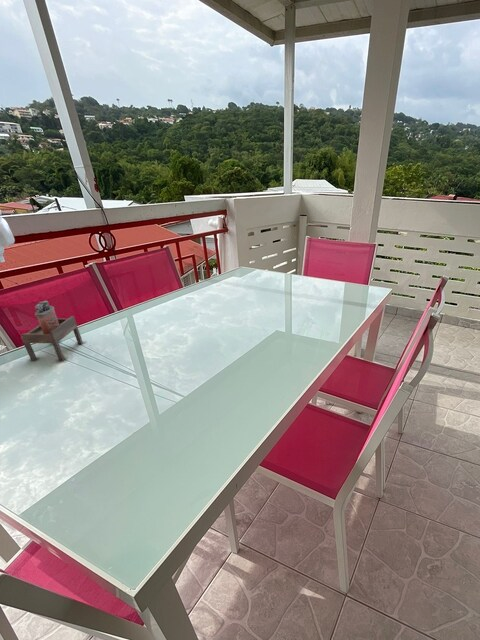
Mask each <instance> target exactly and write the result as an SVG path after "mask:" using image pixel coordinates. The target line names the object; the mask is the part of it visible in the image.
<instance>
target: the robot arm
mask: <svg viewBox="0 0 480 640" xmlns="http://www.w3.org/2000/svg"><path fill="white" fill-rule="evenodd" d="M2 214H3V212H2V210H1V209H0V263H6V259H5V257H4V252H5V247H10V246H13V245H15V242H16V239H15V236H14V234H13V232H12V230H11V227H10V225H9V223H8V222H7V220H6V219H5V218H4V217H2Z"/></svg>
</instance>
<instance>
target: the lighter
mask: <svg viewBox="0 0 480 640" xmlns="http://www.w3.org/2000/svg"><path fill="white" fill-rule="evenodd" d="M34 309H35V311H36V312H35V313H34V316H35V317H36V318H37V321H38V323H39V325H40V326H41V328H42V331H43V334H50V333H49V332H50V331H51V330H53V329H54V328H55V327H57V326H58V325H59V322H58V319H57V318H58V317H57V314H56V311H55V307H54V306H53V305H50V304H49V301H48V300H43V301H38V304H36V305H35V306H34Z"/></svg>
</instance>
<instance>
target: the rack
mask: <svg viewBox="0 0 480 640" xmlns="http://www.w3.org/2000/svg"><path fill="white" fill-rule="evenodd" d="M57 319H58V322H59V325H58V326H57V327H55V328H54V329H53V330H51V331H50V332H49V333H50V334H43V331H42V328H41V326H40V324H39V325H37V326H35V327H34V328H33V329H31V330H30V331H28V332H26V333H22V334H21V336H20V339H21V341H22V344H23V346H24V348H25V350H26V352H27V354H28V357H29V359H30V360H31V361H36V360H37V359H38V358H37V356H36V353H35V351H34V348H33V347H32V344H52V346H53V349H54V351H55V353H56V356H57V359H58V361H59V362H63V361H64V360H65V356H64V353H63V351H62V348H61V346H60V343H59V342H60V341H61V340H63V339H64V338H65V337H67V336H68V335H69V334H70V333H71V332H73V334H74V335H75V339H76V342H77V344H78V345H83V344H84V341H83V338H82V336H81V333H80V330H79V328H78V324H77V322H76V318H75V316H74V315H71V316H69V317H67V318H61V317H59V318H58V317H57Z"/></svg>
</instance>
